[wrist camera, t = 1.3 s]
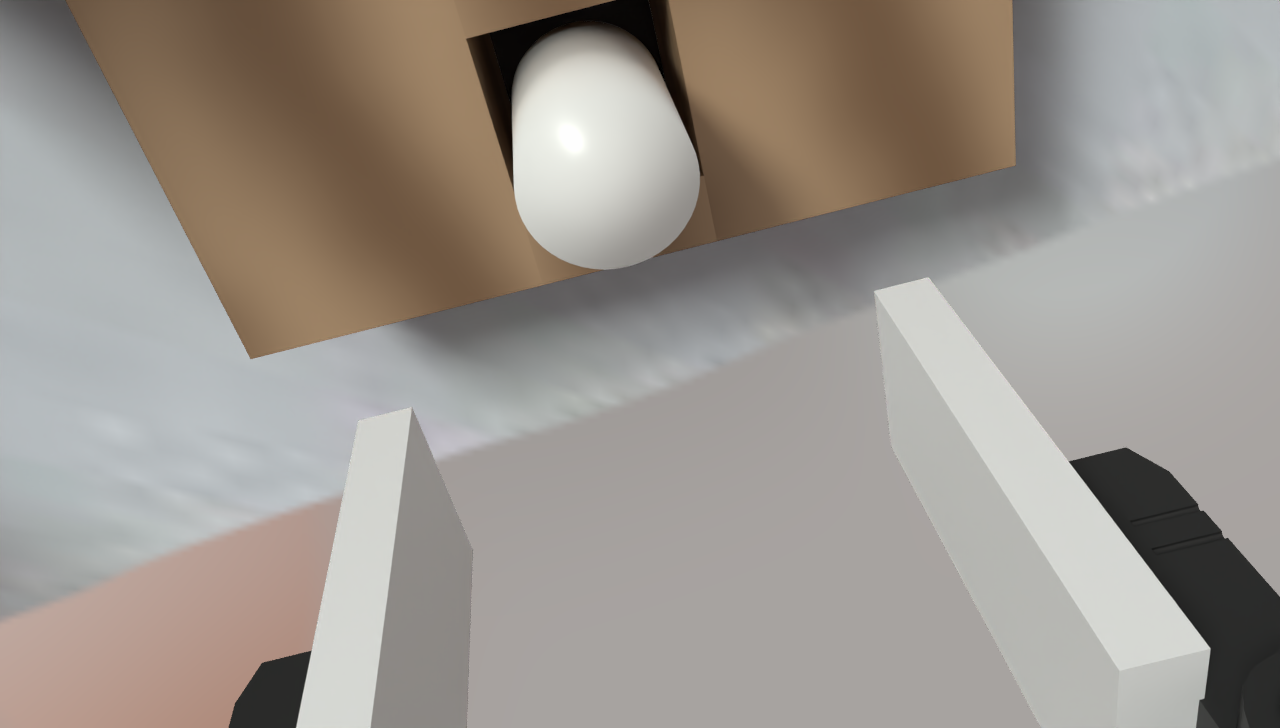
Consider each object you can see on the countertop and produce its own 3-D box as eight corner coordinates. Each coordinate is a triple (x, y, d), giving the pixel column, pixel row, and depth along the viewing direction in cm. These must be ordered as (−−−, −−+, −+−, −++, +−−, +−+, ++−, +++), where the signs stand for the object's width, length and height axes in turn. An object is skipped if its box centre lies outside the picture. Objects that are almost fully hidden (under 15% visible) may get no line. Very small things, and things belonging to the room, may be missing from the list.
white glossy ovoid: (535, 185, 28) (542, 288, 23) (492, 43, 26) (490, 121, 21) (676, 149, 28) (715, 244, 23) (645, 3, 26) (680, 72, 21)
